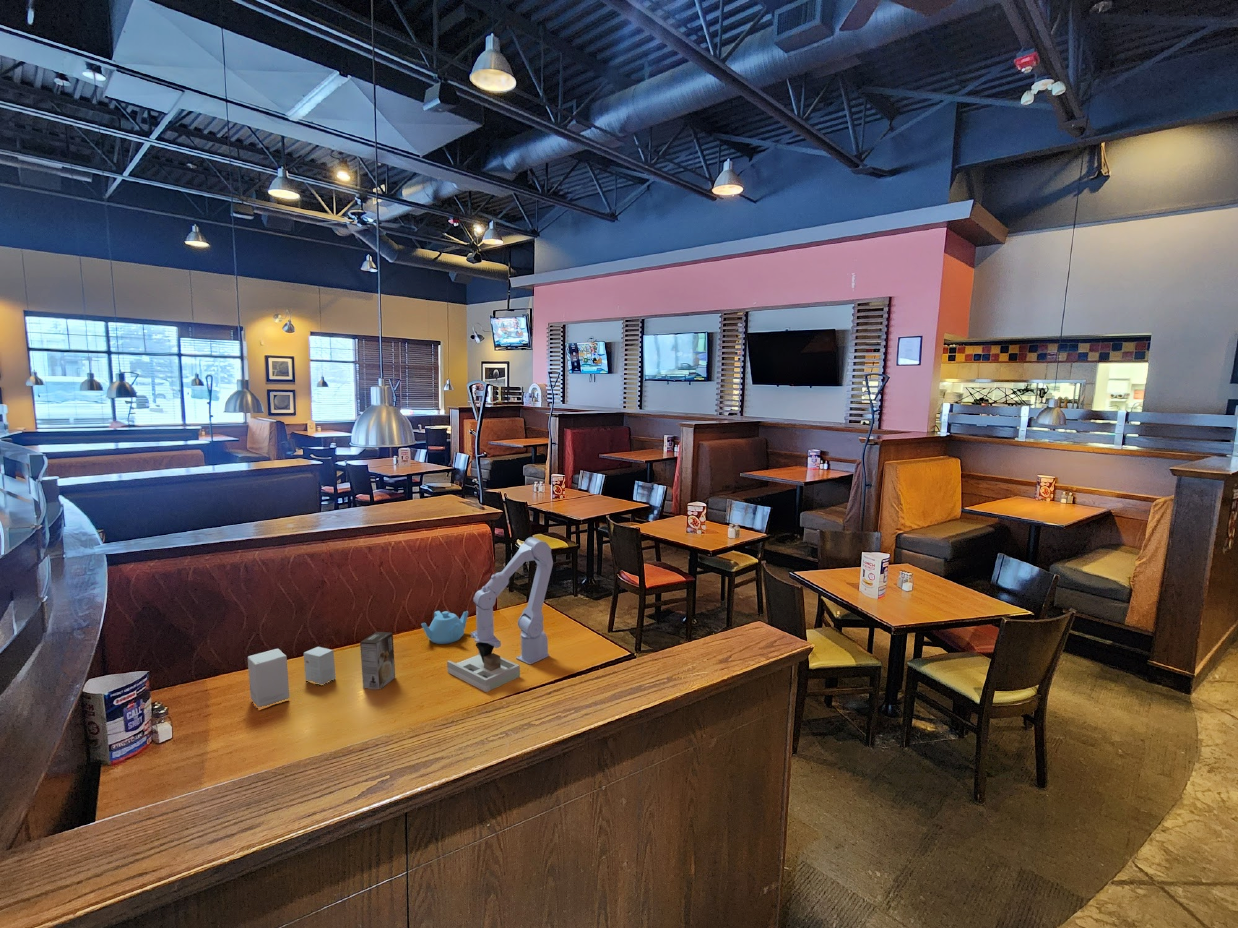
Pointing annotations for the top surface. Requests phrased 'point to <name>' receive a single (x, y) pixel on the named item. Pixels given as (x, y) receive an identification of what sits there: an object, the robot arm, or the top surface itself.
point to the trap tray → (484, 672)
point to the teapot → (445, 627)
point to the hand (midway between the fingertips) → (486, 662)
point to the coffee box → (377, 660)
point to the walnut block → (492, 662)
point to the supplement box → (268, 677)
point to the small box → (319, 665)
